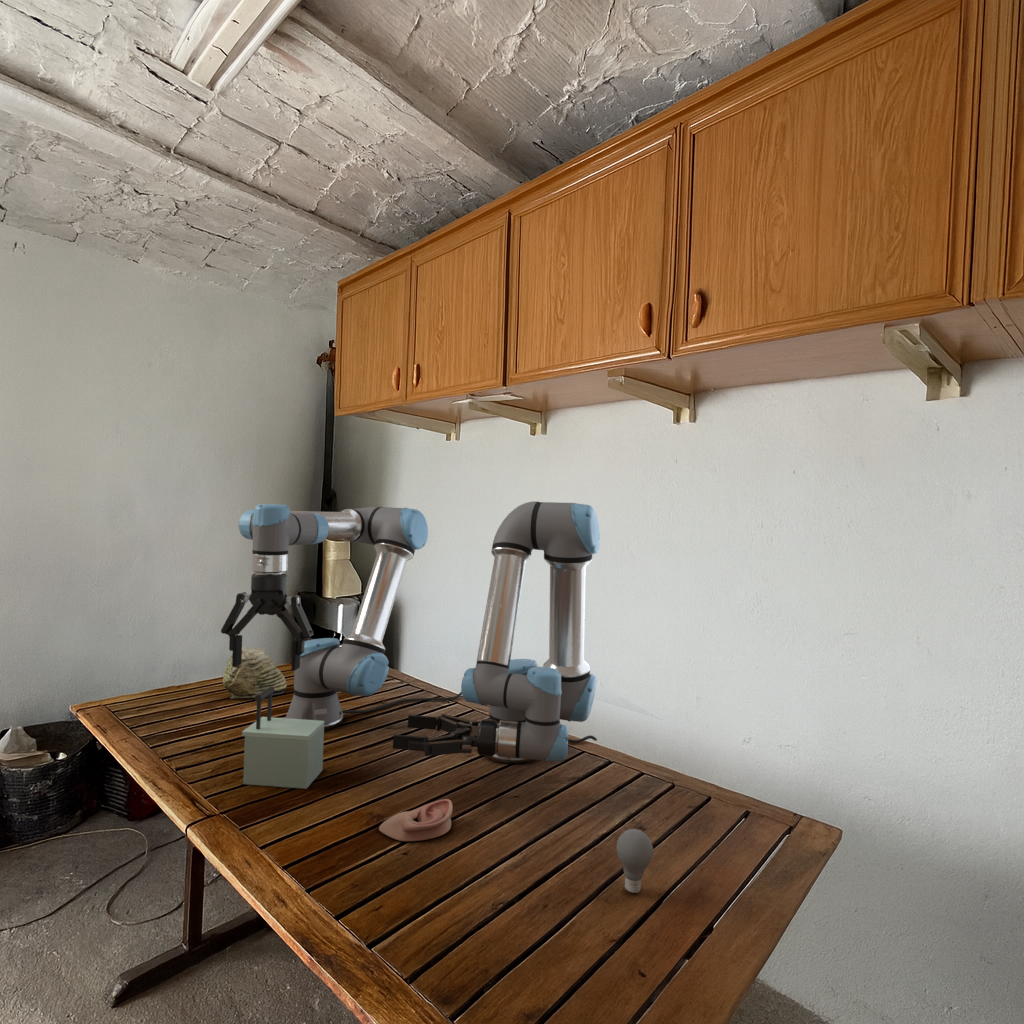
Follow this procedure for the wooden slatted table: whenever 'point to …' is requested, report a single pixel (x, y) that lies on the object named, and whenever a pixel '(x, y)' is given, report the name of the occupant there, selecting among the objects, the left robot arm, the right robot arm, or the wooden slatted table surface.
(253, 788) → the wooden slatted table surface
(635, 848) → the light bulb
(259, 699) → the lid
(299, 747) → the chest
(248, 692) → the fossil
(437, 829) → the anatomical model
